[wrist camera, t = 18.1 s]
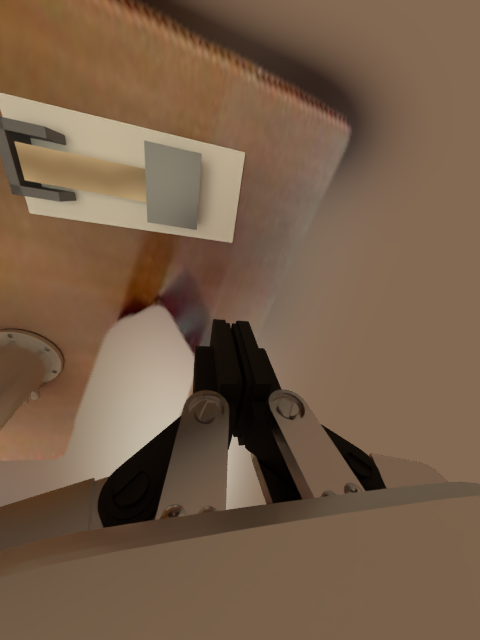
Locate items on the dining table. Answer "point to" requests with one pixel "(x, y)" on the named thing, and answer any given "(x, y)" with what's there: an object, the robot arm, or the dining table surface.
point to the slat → (81, 172)
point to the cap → (172, 185)
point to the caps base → (120, 147)
